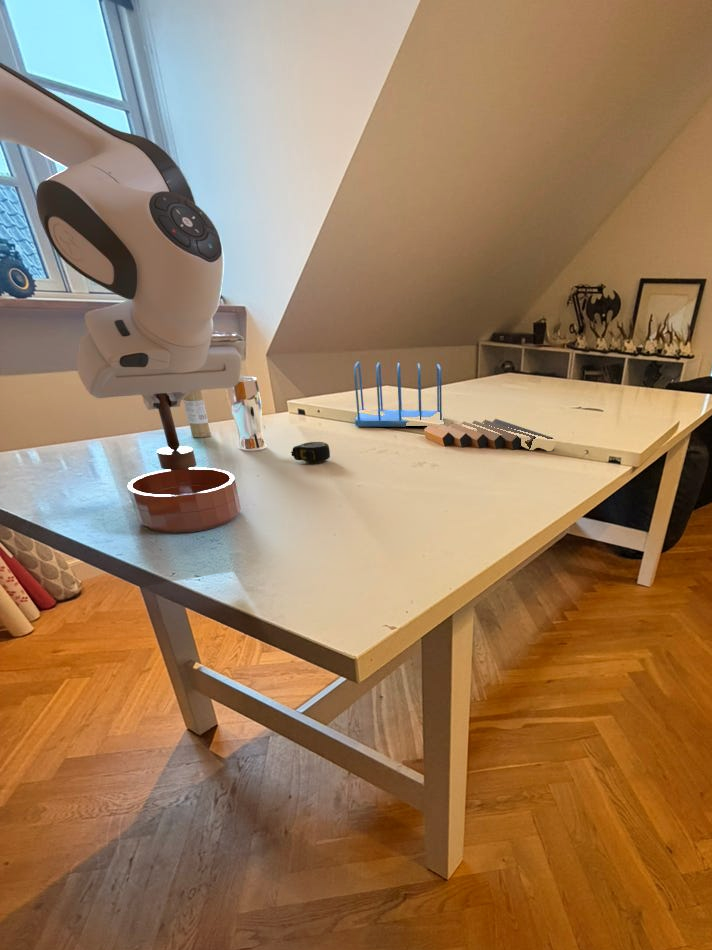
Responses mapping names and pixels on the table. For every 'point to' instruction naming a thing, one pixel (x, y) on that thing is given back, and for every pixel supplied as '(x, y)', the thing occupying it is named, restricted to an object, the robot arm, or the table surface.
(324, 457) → the tape measure
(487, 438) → the pan flute
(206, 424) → the sprinkles bottle
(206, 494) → the bowl
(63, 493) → the table surface
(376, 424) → the file sorter
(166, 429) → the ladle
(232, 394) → the beer glass
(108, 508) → the table surface
